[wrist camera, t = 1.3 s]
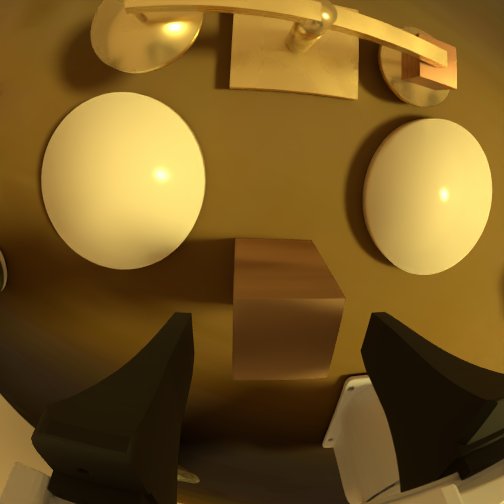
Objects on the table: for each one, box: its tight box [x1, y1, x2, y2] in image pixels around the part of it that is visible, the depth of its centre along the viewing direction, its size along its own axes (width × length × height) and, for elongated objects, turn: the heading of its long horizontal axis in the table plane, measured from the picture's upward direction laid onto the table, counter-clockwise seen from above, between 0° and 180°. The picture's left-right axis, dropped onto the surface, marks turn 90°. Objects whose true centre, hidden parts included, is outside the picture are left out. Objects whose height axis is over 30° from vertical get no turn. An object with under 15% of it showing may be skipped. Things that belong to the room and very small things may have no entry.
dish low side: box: [362, 118, 492, 275], centre depth 15 cm, size 9×9×1 cm
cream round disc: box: [41, 92, 206, 269], centre depth 14 cm, size 9×9×1 cm
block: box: [232, 238, 346, 380], centre depth 14 cm, size 4×4×6 cm
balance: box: [90, 0, 457, 107], centre depth 9 cm, size 5×17×6 cm, turn 87°
